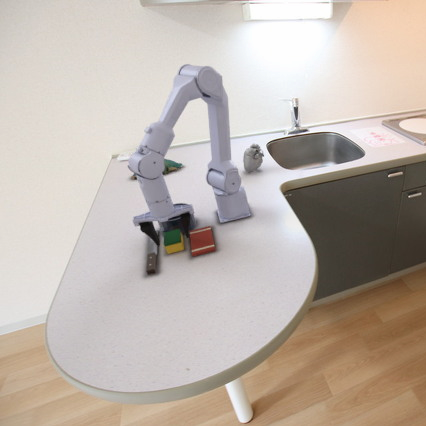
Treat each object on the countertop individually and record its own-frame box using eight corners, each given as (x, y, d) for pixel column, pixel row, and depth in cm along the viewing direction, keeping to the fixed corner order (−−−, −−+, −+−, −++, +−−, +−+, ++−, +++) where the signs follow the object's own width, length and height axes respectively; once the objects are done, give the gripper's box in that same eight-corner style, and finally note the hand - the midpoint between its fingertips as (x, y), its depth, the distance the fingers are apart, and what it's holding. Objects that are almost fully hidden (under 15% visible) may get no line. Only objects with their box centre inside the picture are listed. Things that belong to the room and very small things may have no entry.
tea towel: (210, 227, 94) (210, 225, 94) (215, 250, 85) (214, 248, 85) (190, 232, 93) (189, 230, 92) (192, 256, 83) (191, 254, 83)
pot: (195, 215, 101) (190, 200, 98) (197, 231, 93) (192, 215, 90) (161, 222, 98) (156, 207, 95) (161, 239, 90) (155, 224, 87)
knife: (158, 231, 94) (156, 227, 93) (156, 272, 78) (154, 268, 78) (150, 233, 93) (148, 229, 92) (147, 275, 78) (145, 271, 77)
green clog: (132, 172, 131) (128, 160, 129) (183, 164, 138) (180, 153, 135) (131, 181, 124) (127, 169, 121) (184, 173, 131) (181, 161, 128)
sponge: (183, 238, 91) (179, 228, 89) (183, 249, 86) (180, 240, 84) (167, 241, 89) (164, 232, 87) (167, 254, 85) (163, 244, 83)
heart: (252, 162, 135) (245, 137, 127) (270, 165, 131) (264, 140, 123) (239, 175, 129) (229, 149, 121) (257, 178, 125) (249, 153, 117)
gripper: (124, 211, 74) (144, 255, 81) (188, 198, 78) (201, 240, 85) (127, 198, 79) (145, 240, 87) (187, 186, 84) (199, 227, 91)
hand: (173, 239), depth 86 cm, fingers open, 7 cm apart
